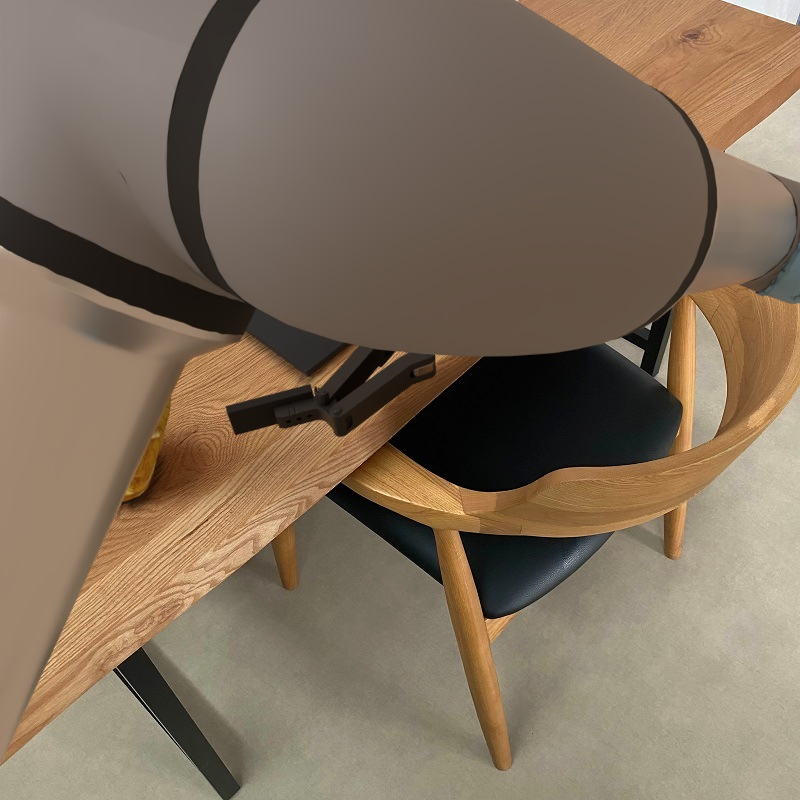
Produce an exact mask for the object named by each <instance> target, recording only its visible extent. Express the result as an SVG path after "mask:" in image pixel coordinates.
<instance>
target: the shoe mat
mask: <svg viewBox="0 0 800 800" xmlns="http://www.w3.org/2000/svg"><path fill="white" fill-rule="evenodd" d="M245 333H248V334H249V335H250V336H252V337H253V338H254V339H255V340H257V341H259V342H260V343H262V345H264V346H265V347H267V348H268V349H269V350H270V351H272V352H274V353H275V354H276V355H278V356H279V357H280V358H282V359H283V360H284V361H285V362H287V363H289V364H290V365H291V366H293V367H294V368H295V369H296V370H298V371H299V372H301V373H302V374H303V375H305V376H306V377H310V376H312V375H313V374H314V373H315V372H316V371H317V370H319V369H320V368H321V367H323V366H324V365H325V364H326V363H328V362H329V361H330V360H332V359H333V358H335V357H336V355H338V354H340V353H341V352H342V351H343V350H344V349H346V348H347V347H348V346H350V345H351V344H349V343H344V342H339V341H336V340H332V339H329V338H326V337H323V336H320V335H317V334H314V333H311V332H308V331H305V330H302V329H299V328H296V327H293V326H290V325H287V324H285V323H284V322H282V321H280V320H278V319H276V318H274V317H272V316H270V315H269V314H267V313H265V312H263V311H261V310H259V309H257V308H256V310H255V312H254V314H253V317H252V319H251V321H250V323H249V325H248V327H247V329H246V331H245Z"/></svg>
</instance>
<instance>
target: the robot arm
mask: <svg viewBox="0 0 800 800" xmlns="http://www.w3.org/2000/svg"><path fill="white" fill-rule="evenodd" d="M733 286H741V287H743V288H745V289H748V290H751V291H753V292H755V295H758V296H759V297H766V296H767V297H769V298H772V299H775V300H777V301H781V302H783V303H787V304H791V305H797V304H800V181H796V180H793V179H790V178H787V177H785V176H781V175H779V174H776V173H773V172H771V171H769V170H766V169H764V168H762V167H761V166H757V165H756V164H754V163H753V164H752V163H750V162H749V161H746V160H743V159H741V158H739V157H737V156H734V155H731V154H729V153H727V152H724V151H722V150H720V149H717V148H715V147H713V146H711V145H708V143H707V141H706V139H705V137H704V136H703V134H702V133H701V130H700V129H699V128H698V126H697V124H696V122H695V121H694V120H693V119H692V118H691V117H690V115H689V114H688V113H687V112H686V111H685V110H684V109H683V107H681V106H680V105H679V104H678V103H677V102H675V101H674V100H673V99H672V98H671V97H669V96H668V95H666V94H665V93H664V92H662V91H661V90H659V89H657V88H655V87H654V86H651V85H650V84H648V83H646V82H645V81H643V80H642V79H640V78H638V77H637V76H636V75H634V74H632V73H631V72H629V71H628V70H626V69H625V68H623V67H622V66H620V65H619V64H617V63H616V62H614V61H613V60H612V59H610V58H608V57H607V56H605V55H604V54H602V53H601V52H599V51H597V50H596V49H595V48H593V47H592V46H590V45H589V44H587V43H585V42H584V41H582V40H581V39H580V38H578V37H576V36H575V35H573V34H571V33H570V32H568V31H566V30H564V28H562V27H560V26H559V25H557V24H555V23H553V22H552V21H550V20H549V19H547V18H546V17H544V16H542V15H540V14H539V13H537V12H536V11H534V10H533V9H531V8H529V7H527V6H526V5H524V4H522V3H521V2H518V1H516V0H0V765H1V764H2V762H3V760H4V758H5V756H6V754H7V751H8V749H9V747H10V745H11V743H12V741H13V739H14V737H15V734H16V732H17V730H18V728H19V725H20V724H21V721H22V719H23V717H24V714H25V713H26V710H27V708H28V706H29V704H30V702H31V699H32V698H33V695H34V693H35V691H36V689H37V687H38V685H39V682H40V680H41V678H42V676H43V673H44V671H45V670H46V667H47V665H48V664H49V663H48V662H49V661H50V658H51V656H52V655H53V653H54V651H55V648H56V646H57V643H58V641H59V640H60V637H61V634H62V633H63V630H64V628H65V626H66V624H67V622H68V620H69V617H70V615H71V613H72V611H73V609H74V607H75V605H76V603H77V600H78V598H79V596H80V594H81V591H82V589H83V588H84V585H85V583H86V581H87V579H88V576H89V574H90V573H91V570H92V567H93V565H94V563H95V561H96V559H97V557H98V555H99V553H100V550H101V548H102V546H103V544H104V542H105V540H106V538H107V535H108V534H109V531H110V529H111V527H112V524H113V523H114V521H115V518H116V516H117V514H118V511H119V509H120V507H121V506H122V505H121V503H122V501H123V499H124V497H125V494H126V492H127V490H128V488H129V486H130V484H131V481H132V479H133V477H134V475H135V473H136V471H137V468H138V466H139V464H140V462H141V460H142V458H143V455H144V453H145V451H146V449H147V447H148V445H149V443H150V440H151V438H152V436H153V434H154V432H155V430H156V427H157V425H158V423H159V421H160V419H161V417H162V414H163V412H164V410H165V408H166V406H167V404H168V401H169V399H170V397H171V398H172V395H173V393H174V390H175V389H176V386H177V384H178V382H179V380H180V378H181V376H182V373H183V371H184V369H185V367H186V365H187V364H189V362H191V361H192V360H193V359H196V358H198V357H201V356H204V355H206V354H210V353H212V352H215V351H218V350H220V349H223V348H225V347H229V346H231V345H234V344H237V343H240V342H241V341H242V339H243V337H244V335H245V333H246V329H247V327H248V325H249V323H250V321H251V319H252V317H253V314H254V312H255V310H256V308H257V309H259V310H261V311H263V312H265V313H267V314H269V315H270V316H272V317H274V318H276V319H278V320H280V321H282V322H284V323H285V324H287V325H290V326H293V327H296V328H299V329H302V330H305V331H308V332H311V333H314V334H317V335H320V336H323V337H326V338H329V339H332V340H336V341H339V342H344V343H349V344H350V345H354V346H357V347H356V348H355V350H353V352H352V353H351V354H350V355H349V356H348V357H347V358H346V360H345V361H343V363H342V364H341V365H340V366H339V367H338V368H337V369H336V371H334V373H333V374H332V375H331V376H330V377H329V378H328V379H327V381H326V382H325V383H324V384H323V385H322V386H321V387H318V386H317V385H315V386H314V388H313V387H312V384H311V383H309V384H304V385H301V386H297V387H293V388H289V389H285V390H281V391H277V392H274V393H270V394H267V395H262V396H259V397H255V398H251V399H247V400H243V401H239V402H236V403H232V404H229V405H225V410H226V415H227V417H228V420H229V423H230V426H231V428H232V431H233V433H234V436H240V435H243V434H247V433H249V432H254V431H257V430H262V429H265V428H268V427H272V426H275V425H277V426H278V428H279V429H290V428H293V427H298V426H301V425H304V424H309V423H312V422H317V421H323V422H325V423H327V425H328V426H329V427H330V428H331V429H332V431H333V434H334V435H335V436H336V437H338V438H342V437H345V436H348V435H349V434H350V433H351V432H353V431H354V430H356V428H358V427H359V426H361V425H362V424H363V423H364V422H366V421H367V420H369V419H370V418H371V417H372V416H374V415H375V414H376V413H378V412H379V411H380V410H381V409H383V408H384V407H386V406H387V405H388V404H389V403H391V402H392V401H393V400H395V399H396V398H397V397H399V396H401V394H403V393H404V392H405V391H407V390H408V389H409V388H411V387H412V386H413V385H416V384H419V383H422V382H425V381H427V380H430V379H433V378H434V377H435V376H436V375H437V365H436V364H437V363H436V356H453V357H514V356H515V357H516V356H528V355H529V356H530V355H543V354H545V355H546V354H555V353H561V352H568V351H574V350H580V349H583V348H588V347H593V346H599V345H603V344H605V343H608V342H611V341H615V340H618V339H621V338H624V337H626V336H628V335H631V334H635V333H637V332H639V331H640V330H643V329H644V328H646V327H648V326H649V325H650V324H652V323H654V322H655V321H658V320H659V319H660V318H661V317H662V316H664V315H665V314H666V313H667V312H668V311H670V310H672V308H674V307H675V305H677V303H678V302H680V300H681V299H682V298H683V297H687V296H691V295H696V294H700V293H706V292H709V291H714V290H719V289H724V288H728V287H733ZM396 352H401V353H405V354H403V355H401V356H399V357H398V358H396V359H395V360H393V361H392V362H390V363H389V364H388V365H387V366H385V365H386V364H387V362H389V360H390V359H391V358H392V356H394V354H395V353H396ZM384 366H385V367H384ZM383 367H384V368H383ZM379 368H382V369H381V370H380V371H378V372H377V373H376V374H375V375H373V374H374V373H375V372H376V371H377V369H379ZM372 375H373V376H372ZM371 376H372V377H371Z"/></svg>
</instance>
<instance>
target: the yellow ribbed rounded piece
mask: <svg viewBox="0 0 800 800" xmlns="http://www.w3.org/2000/svg"><path fill="white" fill-rule="evenodd" d="M171 407H172V396H171V397H170V399H169V401H168V404H167V406H166V408H165V410H164V412H163V414H162V417H161V419H160V421H159V423H158V425H157V427H156V430H155V432H154V434H153V436H152V438H151V440H150V443H149V445H148V447H147V449H146V451H145V453H144V455H143V458H142V460H141V462H140V464H139V466H138V468H137V471H136V473H135V475H134V477H133V479H132V481H131V484H130V486H129V488H128V490H127V492H126V494H125V497H124V499H123V501H122V503H121V505H120V506H123V505H130V504H133V503H137V502H139V501H140V500H141V499H142V498H143V497H144V496H145V495H146V494H147V492H148V490H149V488H150V486H151V485H152V483H153V482H154V480H155V471H156V464H157V459H158V456H159V452H160V450H161V448H162V446H163V441H164V438H165V433H166V428H167V425H168V420H169V418H170V414H171V413H170V412H171Z"/></svg>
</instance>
